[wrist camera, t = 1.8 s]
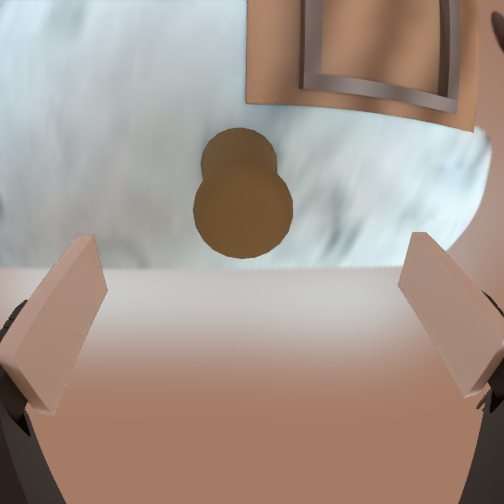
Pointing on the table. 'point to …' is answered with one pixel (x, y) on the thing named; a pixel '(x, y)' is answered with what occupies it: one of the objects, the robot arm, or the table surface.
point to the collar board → (367, 56)
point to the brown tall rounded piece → (241, 196)
